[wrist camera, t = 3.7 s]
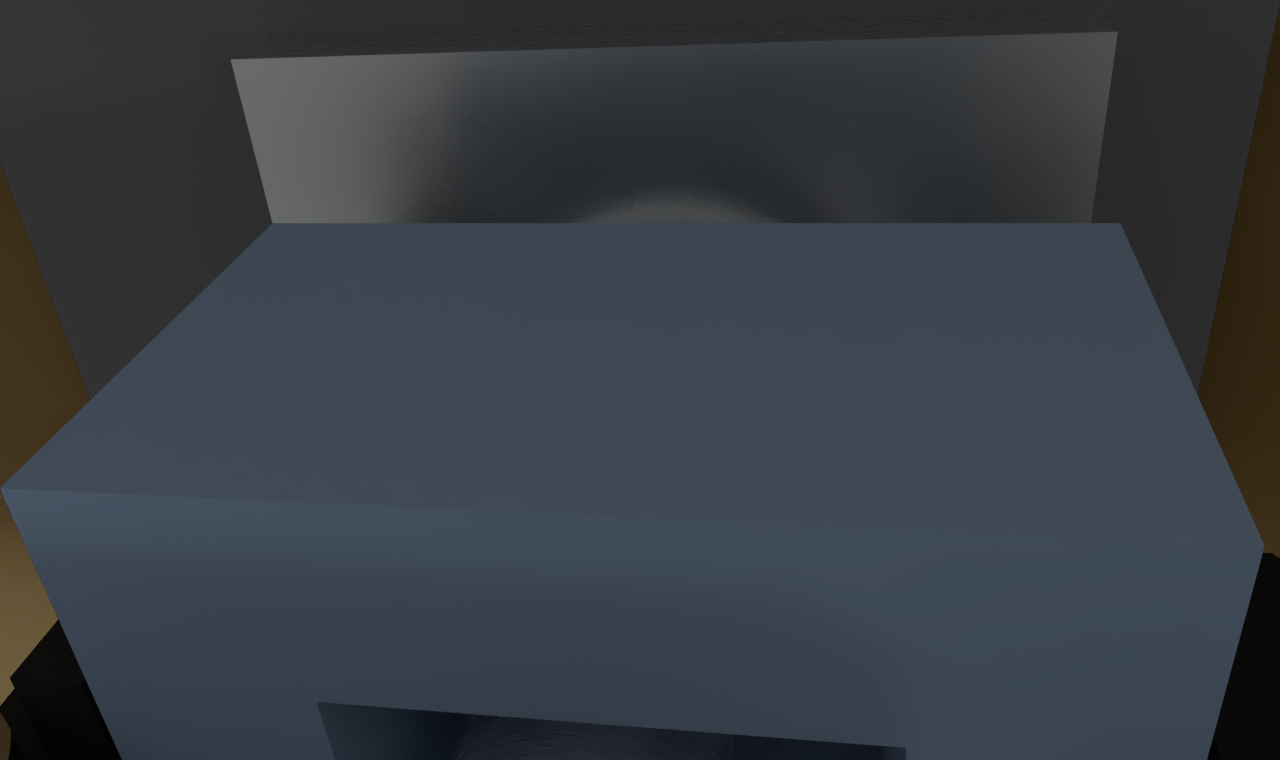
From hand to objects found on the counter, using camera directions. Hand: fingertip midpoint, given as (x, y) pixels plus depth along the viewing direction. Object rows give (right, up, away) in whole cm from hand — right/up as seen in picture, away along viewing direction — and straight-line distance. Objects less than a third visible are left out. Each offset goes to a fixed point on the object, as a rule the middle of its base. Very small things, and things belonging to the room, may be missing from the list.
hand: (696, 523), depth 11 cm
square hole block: (0, 0, 0) cm, 0 cm away
